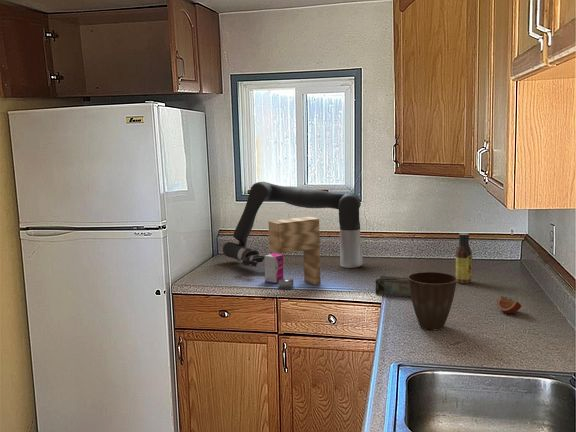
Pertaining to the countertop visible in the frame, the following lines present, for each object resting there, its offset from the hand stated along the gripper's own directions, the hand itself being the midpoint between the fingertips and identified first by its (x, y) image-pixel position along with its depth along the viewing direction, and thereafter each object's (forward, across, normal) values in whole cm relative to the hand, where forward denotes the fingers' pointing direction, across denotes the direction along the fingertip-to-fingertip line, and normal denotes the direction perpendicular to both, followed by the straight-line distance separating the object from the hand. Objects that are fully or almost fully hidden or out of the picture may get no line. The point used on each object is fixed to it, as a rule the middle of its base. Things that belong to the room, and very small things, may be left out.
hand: (264, 262), depth 254 cm
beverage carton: (+53, +31, +7) cm, 62 cm away
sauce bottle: (+54, +62, +7) cm, 83 cm away
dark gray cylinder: (+18, 0, +7) cm, 19 cm away
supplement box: (+8, 0, +7) cm, 11 cm away
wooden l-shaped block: (+18, +4, +6) cm, 20 cm away
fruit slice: (+90, +46, +7) cm, 102 cm away
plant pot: (+86, +15, +7) cm, 88 cm away
